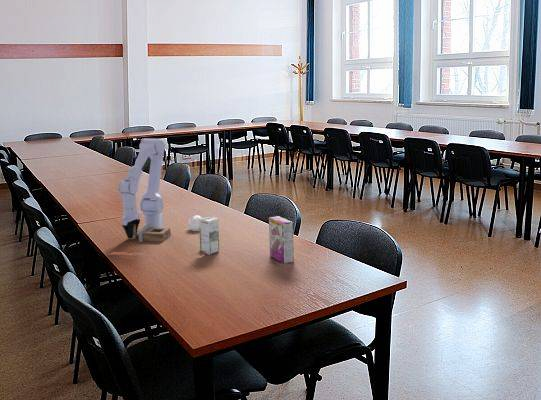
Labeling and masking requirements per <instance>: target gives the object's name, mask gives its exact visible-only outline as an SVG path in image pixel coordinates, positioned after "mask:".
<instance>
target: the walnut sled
mask: <svg viewBox="0 0 541 400" xmlns="http://www.w3.org/2000/svg"><path fill="white" fill-rule="evenodd" d="M171 236H172V233H171V228H170V227H162V228H150V229H149V230H147V231H146V232H144V233H143V240H144V241H143V242H160V243H161V242H162V243H163V242H164V241H166V240H167V239H169V237H171Z"/></svg>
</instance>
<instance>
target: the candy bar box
mask: <svg viewBox="0 0 541 400" xmlns="http://www.w3.org/2000/svg"><path fill="white" fill-rule="evenodd" d="M268 231H269V233H268V234H269V239H268V240H269V257H271V258H272V259H273V260H276V261H278V262H280V263H281V264H285V265H286V264H290V263H294V262H295V261H294V257H295V256H294V255H295V253H294V251H295V250H294V222H293V221H291V220H289V219H287V218H284V217H283V216H282V217H281V216H279V215H277V216H270V217H268Z"/></svg>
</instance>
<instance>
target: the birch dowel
mask: <svg viewBox="0 0 541 400" xmlns="http://www.w3.org/2000/svg"><path fill="white" fill-rule="evenodd" d="M127 239H128V240H137V235H136V226H135V225H134V229H133V238H128V237H127Z"/></svg>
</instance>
